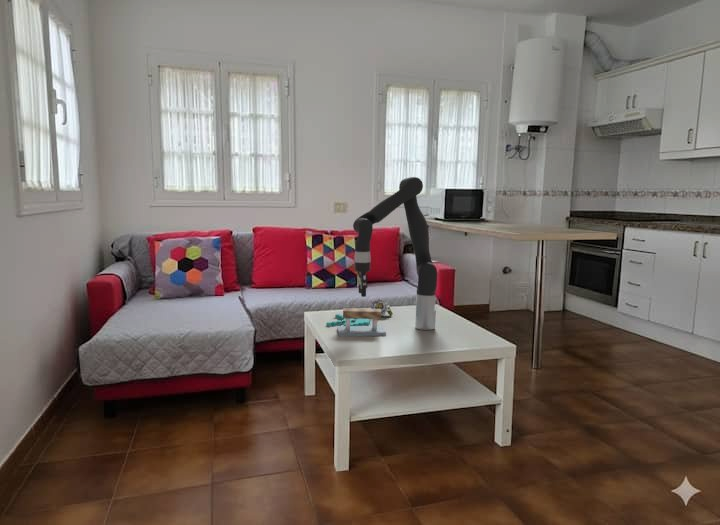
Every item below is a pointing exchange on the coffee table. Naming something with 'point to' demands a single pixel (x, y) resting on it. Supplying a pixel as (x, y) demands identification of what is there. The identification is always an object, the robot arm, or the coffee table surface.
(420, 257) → the robot arm
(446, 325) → the coffee table surface
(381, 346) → the coffee table surface
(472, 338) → the coffee table surface
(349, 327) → the peg stand
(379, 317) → the shelf board
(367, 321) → the alien figure
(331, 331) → the coffee table surface
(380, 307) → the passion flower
